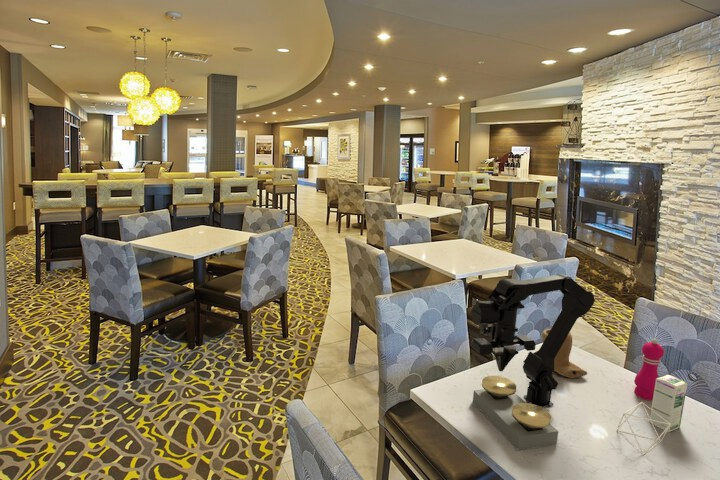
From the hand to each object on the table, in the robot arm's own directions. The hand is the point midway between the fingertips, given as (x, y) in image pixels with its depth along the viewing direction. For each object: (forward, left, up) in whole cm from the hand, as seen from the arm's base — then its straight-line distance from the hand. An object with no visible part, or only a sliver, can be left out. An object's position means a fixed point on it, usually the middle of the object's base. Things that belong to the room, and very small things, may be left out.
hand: (500, 370), depth 139 cm
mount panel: (0, +8, -12) cm, 14 cm away
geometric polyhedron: (-30, +24, -12) cm, 40 cm away
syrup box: (-44, +19, -12) cm, 49 cm away
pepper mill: (-53, +4, -12) cm, 55 cm away
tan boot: (-36, -17, -12) cm, 42 cm away
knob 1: (0, 0, -9) cm, 9 cm away
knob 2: (0, +16, -9) cm, 18 cm away
